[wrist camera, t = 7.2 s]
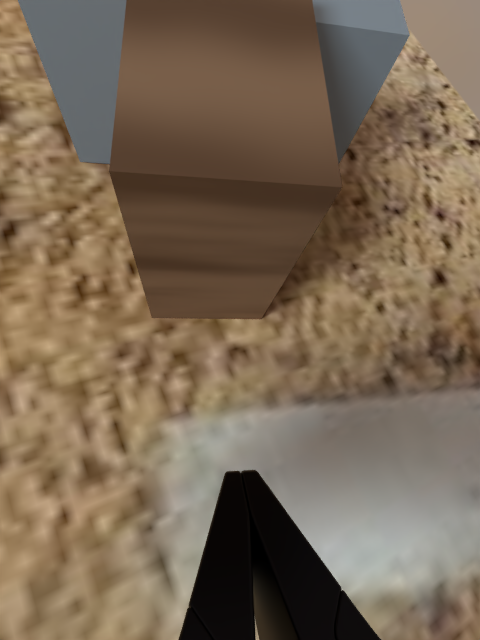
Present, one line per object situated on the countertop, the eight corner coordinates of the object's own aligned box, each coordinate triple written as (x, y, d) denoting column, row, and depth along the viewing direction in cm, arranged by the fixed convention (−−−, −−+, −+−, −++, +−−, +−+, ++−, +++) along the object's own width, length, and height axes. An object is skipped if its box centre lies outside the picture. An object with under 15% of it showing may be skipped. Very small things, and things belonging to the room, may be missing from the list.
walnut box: (261, 319, 20) (342, 187, 9) (151, 318, 19) (109, 171, 8) (252, 175, 23) (305, -42, 13) (158, 168, 22) (133, -71, 12)
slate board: (329, 179, 24) (409, 35, 15) (80, 161, 21) (9, -22, 13) (324, 145, 24) (397, -10, 16) (85, 123, 22) (22, -70, 14)
